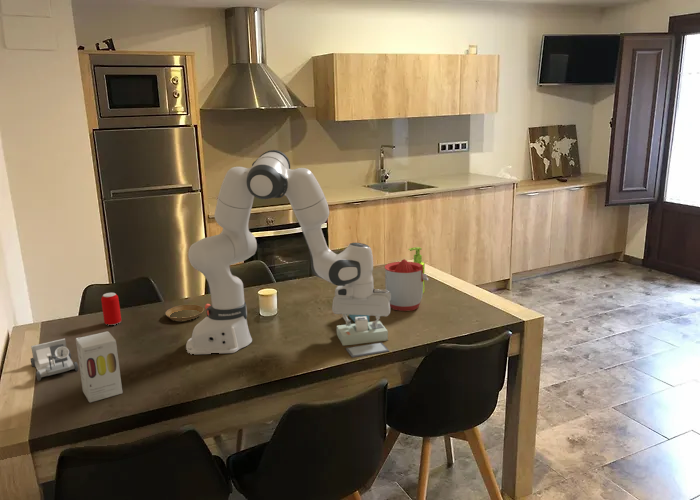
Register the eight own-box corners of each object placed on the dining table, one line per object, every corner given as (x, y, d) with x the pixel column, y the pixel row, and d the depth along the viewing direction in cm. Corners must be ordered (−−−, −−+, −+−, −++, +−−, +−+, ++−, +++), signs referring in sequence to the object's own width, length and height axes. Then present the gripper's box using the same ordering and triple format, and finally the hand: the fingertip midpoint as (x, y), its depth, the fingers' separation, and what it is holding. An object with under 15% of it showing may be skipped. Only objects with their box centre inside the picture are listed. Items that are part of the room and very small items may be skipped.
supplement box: (89, 403, 161) (80, 348, 157) (81, 391, 168) (73, 338, 164) (124, 393, 166) (116, 339, 162) (115, 381, 174) (108, 330, 170)
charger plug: (356, 339, 200) (356, 320, 198) (355, 335, 203) (355, 316, 202) (368, 339, 200) (367, 319, 198) (366, 334, 204) (366, 315, 202)
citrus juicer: (427, 314, 221) (428, 265, 217) (383, 313, 224) (382, 264, 219) (428, 301, 236) (429, 254, 231) (386, 299, 239) (386, 253, 234)
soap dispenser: (406, 291, 249) (406, 247, 244) (420, 289, 251) (421, 245, 246) (411, 295, 244) (411, 250, 239) (426, 293, 246) (426, 248, 241)
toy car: (76, 346, 177) (34, 356, 171) (80, 375, 180) (39, 386, 173) (65, 329, 191) (26, 337, 185) (69, 355, 194) (31, 365, 187)
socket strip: (343, 345, 195) (342, 335, 194) (336, 334, 204) (336, 325, 203) (387, 340, 198) (387, 330, 197) (379, 329, 208) (379, 320, 207)
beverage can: (107, 328, 217) (103, 298, 214) (102, 323, 221) (98, 294, 218) (124, 323, 220) (120, 294, 217) (118, 319, 225) (114, 290, 222)
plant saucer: (209, 310, 233) (209, 304, 232) (196, 324, 219) (195, 317, 218) (175, 310, 235) (174, 304, 234) (159, 323, 220) (159, 317, 220)
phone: (352, 359, 186) (352, 356, 185) (345, 350, 192) (345, 347, 192) (389, 353, 190) (389, 350, 189) (381, 345, 196) (381, 342, 196)
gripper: (391, 286, 198) (392, 324, 201) (334, 284, 202) (335, 321, 205) (389, 292, 192) (389, 331, 195) (330, 290, 196) (331, 328, 199)
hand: (361, 326), depth 200 cm, fingers open, 8 cm apart
